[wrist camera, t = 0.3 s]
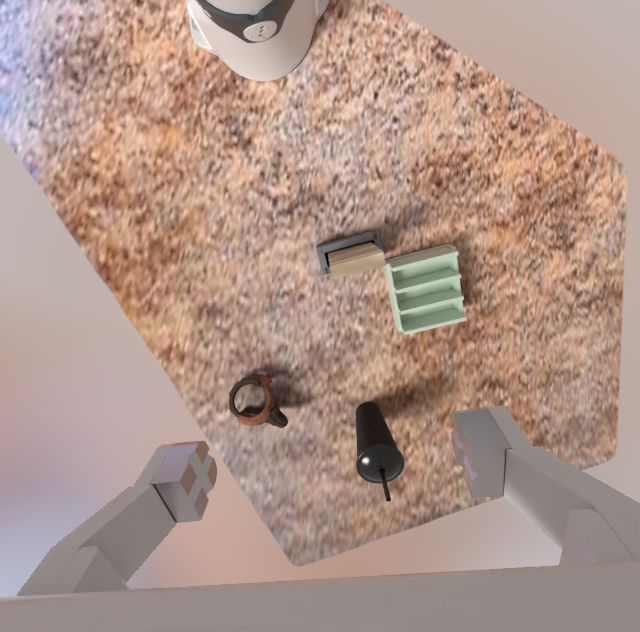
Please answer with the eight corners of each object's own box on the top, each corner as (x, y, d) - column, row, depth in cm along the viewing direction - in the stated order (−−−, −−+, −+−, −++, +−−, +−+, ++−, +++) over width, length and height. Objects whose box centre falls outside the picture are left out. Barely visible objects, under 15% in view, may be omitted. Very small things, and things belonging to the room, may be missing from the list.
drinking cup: (395, 412, 65) (426, 498, 46) (367, 434, 67) (386, 527, 48) (368, 388, 63) (390, 469, 44) (340, 413, 65) (350, 500, 46)
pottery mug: (227, 408, 65) (214, 412, 57) (251, 365, 67) (242, 364, 59) (279, 438, 64) (273, 447, 56) (303, 394, 66) (300, 397, 57)
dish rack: (382, 260, 55) (388, 267, 50) (447, 243, 54) (461, 248, 49) (394, 325, 59) (402, 337, 54) (456, 310, 58) (469, 321, 53)
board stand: (316, 245, 54) (316, 248, 51) (375, 229, 53) (379, 231, 50) (323, 271, 55) (323, 275, 53) (381, 255, 55) (384, 259, 52)
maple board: (327, 250, 54) (329, 266, 42) (368, 239, 54) (383, 252, 42) (329, 261, 55) (333, 279, 43) (370, 250, 54) (386, 265, 42)
